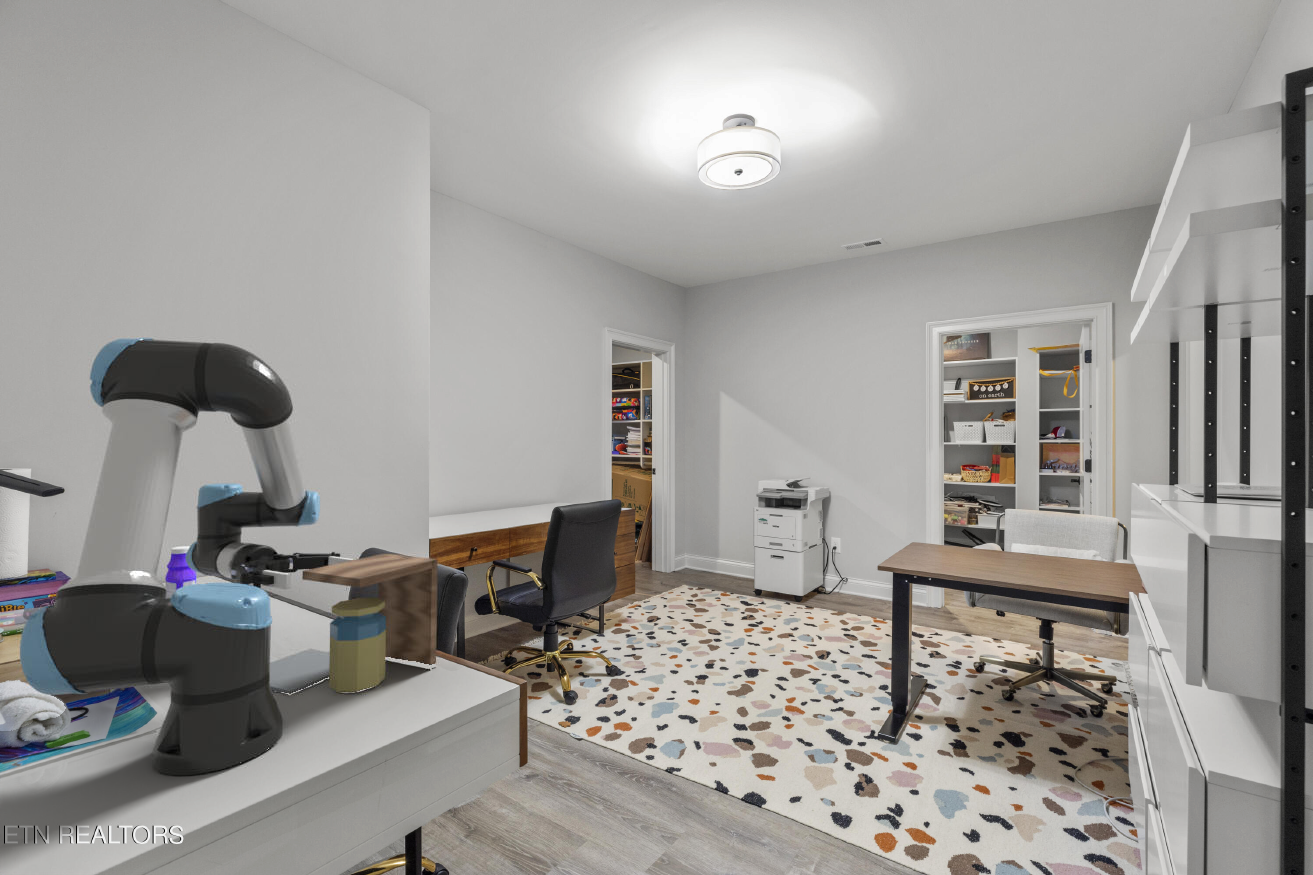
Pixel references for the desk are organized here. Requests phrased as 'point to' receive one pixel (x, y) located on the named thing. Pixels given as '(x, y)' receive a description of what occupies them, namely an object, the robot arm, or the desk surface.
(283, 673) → the mat
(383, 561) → the shelf
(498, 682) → the desk surface
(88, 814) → the desk surface
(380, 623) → the jar
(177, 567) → the bottle
